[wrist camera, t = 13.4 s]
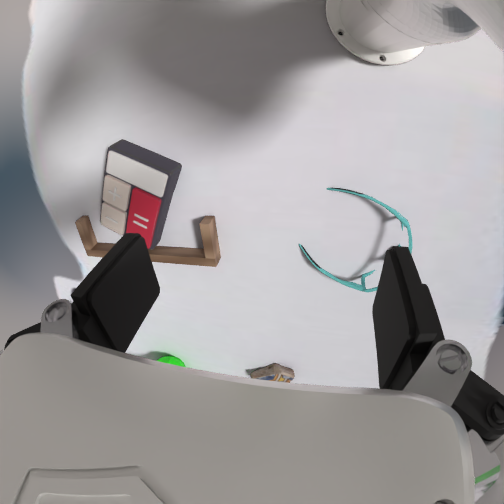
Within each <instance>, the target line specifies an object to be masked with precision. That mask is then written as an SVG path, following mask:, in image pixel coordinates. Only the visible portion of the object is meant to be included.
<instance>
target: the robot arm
mask: <svg viewBox="0 0 504 504" xmlns="http://www.w3.org/2000/svg"><path fill="white" fill-rule="evenodd" d="M325 9H326V18H327V21H328V25H329V27H330V29H331V31H332V33H333V35H334V36H335V37H336V39H337V40H338V41H339V42H340V43H341V44H342V45H343V46H344V47H345V48H346V49H347V50H348V51H350V52H351V53H352V54H354V55H355V56H357V57H359V58H361V59H363V60H365V61H368V62H371V63H375V64H380V65H398V64H402V63H406V62H409V61H411V60H412V59H414V58H416V57H417V56H418V55H419V54H420V53H421V52H422V51H423V50H424V48H425V47H426V46H432V45H438V44H446V43H453V42H458V41H462V40H465V39H468V38H470V37H471V36H473V35H474V34H476V33H477V32H478V31H479V30H480V29H482V30H483V31H484V32H485V33H486V34H487V35H488V36H489V37H490V38H491V40H492V41H493V42H494V43H495V44H496V45H497V47H498V48H499V49H500V50H502V51H503V52H504V0H327V1H326V8H325ZM338 32H342V35H339V34H338ZM380 57H382V58H383V60H382V61H381V60H380V59H379V58H380ZM159 293H160V287H159V284H158V281H157V277H156V274H155V271H154V268H153V265H152V262H151V259H150V255H149V252H148V249H147V245H146V242H145V239H144V238H143V237H142V236H141V235H140V234H139V233H126V234H125V235H124V236H123V237H122V238H121V239H120V240H119V241H118V242H117V243H116V244H115V245H114V246H113V247H112V248H111V249H110V251H109V252H108V253H107V254H106V255H105V256H104V257H103V258H102V259H101V260H100V262H99V263H98V264H97V265H96V266H95V267H94V268H93V270H92V271H91V272H90V273H89V274H88V275H87V276H86V278H85V279H84V280H83V281H82V282H81V283H80V285H79V286H78V287H77V288H76V289H75V291H74V292H73V293H72V294H71V297H72V299H73V301H74V302H73V303H72V304H71V303H70V302H69V300H66V299H60V300H56V301H54V302H52V303H51V304H50V305H48V306H47V307H46V309H45V310H44V312H43V313H42V317H41V322H40V323H38V324H36V325H33V326H31V327H29V328H27V329H25V330H22V331H20V332H18V333H16V334H13V335H12V336H11V337H10V338H9V339H8V341H7V343H6V345H5V349H4V351H3V350H1V351H0V504H504V395H502V394H501V393H500V392H498V391H497V390H496V389H495V388H493V387H492V386H491V385H489V384H488V383H487V382H485V381H484V380H483V379H482V378H480V377H479V376H478V375H476V374H475V373H474V372H472V371H471V370H470V369H471V366H472V359H471V356H470V353H469V352H468V350H467V349H466V348H465V347H464V346H463V345H462V344H461V343H459V342H456V341H454V340H445V338H444V335H443V331H442V328H441V325H440V321H439V318H438V315H437V312H436V309H435V306H434V303H433V300H432V297H431V294H430V291H429V288H428V286H427V285H426V284H422V283H421V280H420V277H419V274H418V271H417V269H416V266H415V263H414V261H413V258H412V256H411V253H410V251H409V248H408V247H399V246H393V247H392V249H391V250H387V251H386V255H385V260H384V264H383V268H382V273H381V277H380V281H379V285H378V289H377V292H376V296H375V300H374V304H373V321H374V330H375V339H376V349H377V360H378V373H379V387H380V389H376V388H358V387H337V386H323V385H310V384H297V383H287V382H277V381H268V380H260V379H253V378H246V377H239V376H232V375H226V374H220V373H214V372H208V371H203V370H197V369H192V368H187V367H182V366H177V365H173V364H168V363H164V362H159V361H155V360H151V359H147V358H142V357H138V356H134V355H131V354H127V353H125V352H126V350H127V348H128V347H129V345H130V343H131V341H132V340H133V338H134V336H135V334H136V333H137V331H138V329H139V327H140V326H141V324H142V322H143V321H144V319H145V317H146V316H147V314H148V312H149V311H150V309H151V307H152V306H153V304H154V302H155V301H156V299H157V297H158V296H159ZM474 476H475V485H474Z"/></svg>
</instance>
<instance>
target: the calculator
mask: <svg viewBox="0 0 504 504" xmlns="http://www.w3.org/2000/svg"><path fill="white" fill-rule="evenodd" d="M181 168H182V165H181V164H180V163H178V162H176V161H173V160H171V159H169V158H166V157H164V156H162V155H159V154H157V153H155V152H152V151H150V150H147V149H145V148H143V147H140V146H138V145H135V144H133V143H131V142H128V141H126V140H123V139H122V140H120V141H118V142H117V143H115V144H113V145H111V146H110V147H109V148H108V152H107V159H106V167H105V175H104V184H103V194H102V205H101V219H100V222H101V225H103V226H105V227H107V228H109V229H111V230H112V231H114V232H116V233H118V234H120V235H123V236H124V235H125V234H126V233H139V234H140V235H141V236H142V237H143V238H144V239H145V242H146V245H147V248H148V249H151V250H153V249H154V248H155V246H156V245H157V244H158V242H159V241H160V239H161V235H162V232H163V228H164V224H165V221H166V217H167V213H168V209H169V206H170V202H171V199H172V195H173V192H174V190H175V187H176V184H177V181H178V177H179V174H180V171H181Z"/></svg>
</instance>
